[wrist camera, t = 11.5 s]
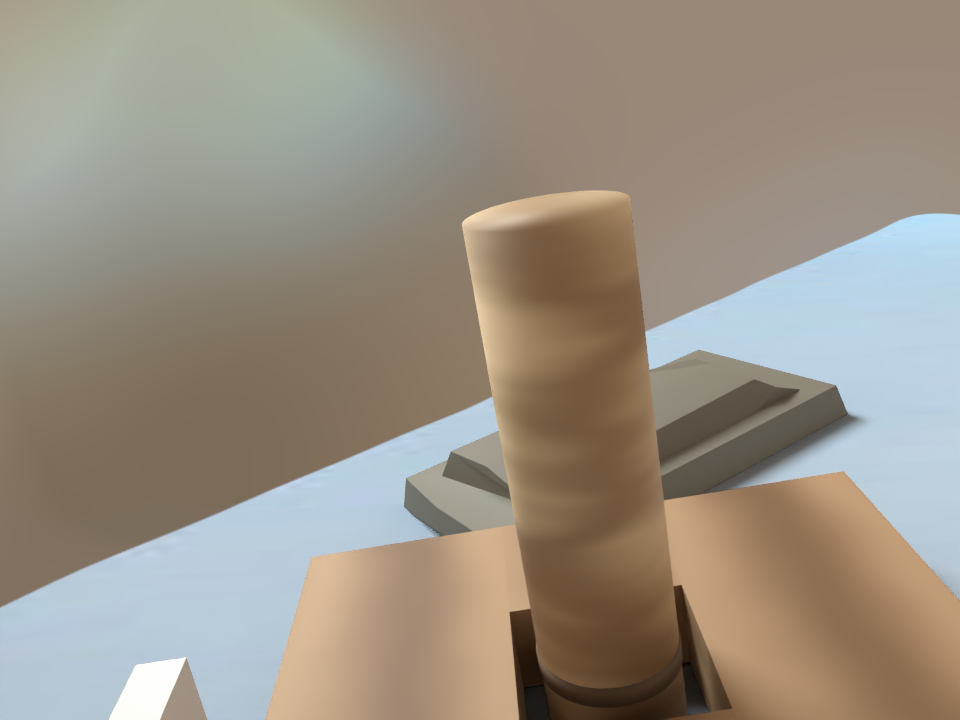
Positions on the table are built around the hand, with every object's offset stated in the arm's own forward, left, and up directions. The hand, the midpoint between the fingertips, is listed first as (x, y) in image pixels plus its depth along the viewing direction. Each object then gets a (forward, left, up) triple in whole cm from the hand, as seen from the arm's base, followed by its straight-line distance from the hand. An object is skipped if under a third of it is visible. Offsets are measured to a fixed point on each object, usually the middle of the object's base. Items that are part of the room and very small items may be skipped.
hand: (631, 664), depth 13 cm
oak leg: (0, +10, -11) cm, 15 cm away
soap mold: (+4, +28, -12) cm, 30 cm away
